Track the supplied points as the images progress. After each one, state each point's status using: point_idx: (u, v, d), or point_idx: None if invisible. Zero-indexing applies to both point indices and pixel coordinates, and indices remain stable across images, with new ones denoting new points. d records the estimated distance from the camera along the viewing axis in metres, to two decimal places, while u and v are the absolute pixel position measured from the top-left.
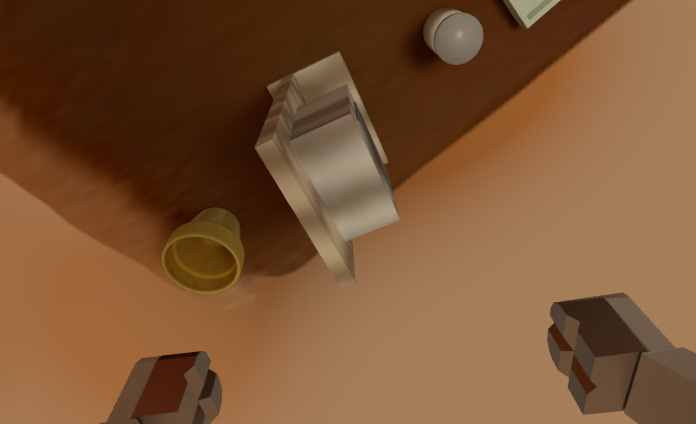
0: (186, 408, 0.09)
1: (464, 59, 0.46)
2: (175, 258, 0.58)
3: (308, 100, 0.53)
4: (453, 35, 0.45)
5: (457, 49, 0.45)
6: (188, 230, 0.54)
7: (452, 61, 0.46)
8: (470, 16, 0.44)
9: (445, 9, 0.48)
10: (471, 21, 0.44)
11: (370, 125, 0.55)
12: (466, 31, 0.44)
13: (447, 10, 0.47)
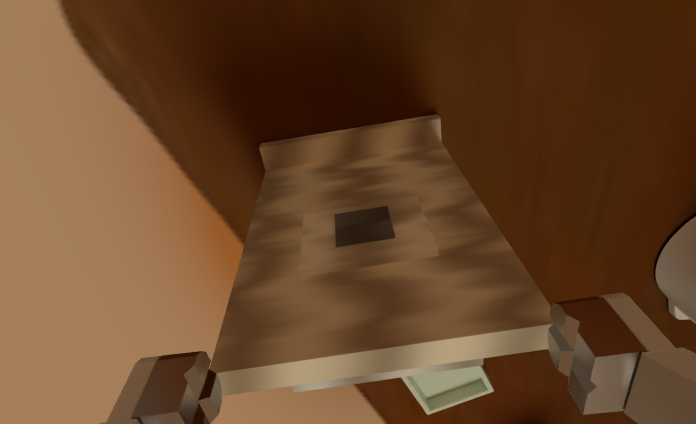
0: (186, 408, 0.09)
1: None
2: None
3: None
4: None
5: None
6: None
7: None
8: None
9: None
10: None
11: None
12: None
13: None
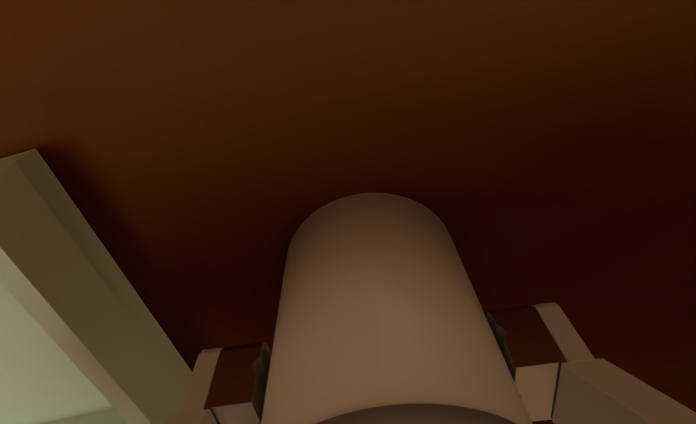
0: (256, 399, 0.08)
1: None
2: None
3: None
4: None
5: None
6: None
7: None
8: None
9: None
10: None
11: None
12: None
13: None
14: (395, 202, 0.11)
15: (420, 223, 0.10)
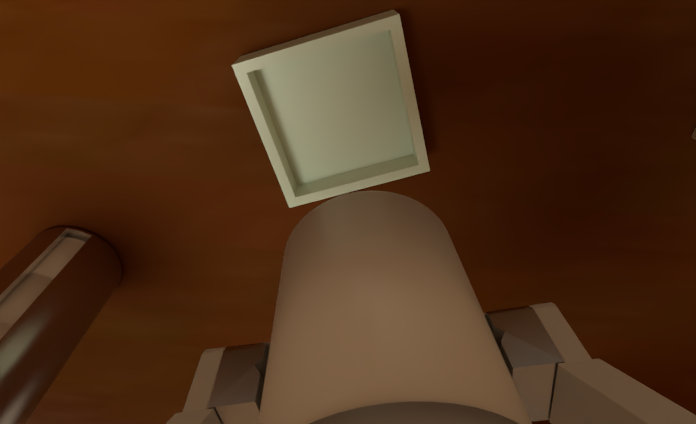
0: (260, 398, 0.08)
1: None
2: None
3: None
4: None
5: None
6: None
7: None
8: None
9: None
10: None
11: None
12: None
13: None
14: (393, 200, 0.11)
15: (418, 221, 0.10)
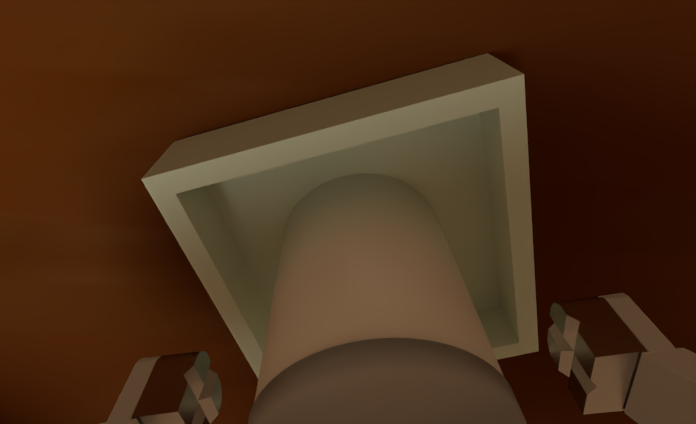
0: (186, 408, 0.09)
1: (408, 396, 0.06)
2: None
3: None
4: None
5: None
6: None
7: (485, 412, 0.07)
8: None
9: None
10: None
11: None
12: None
13: None
14: (384, 182, 0.12)
15: (406, 200, 0.11)
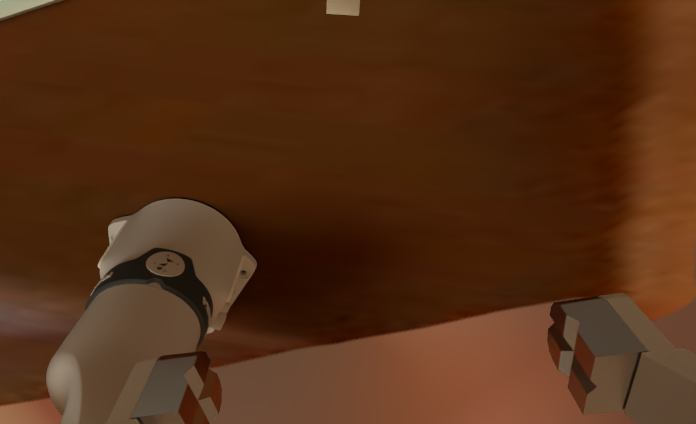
0: (186, 408, 0.09)
1: None
2: None
3: None
4: None
5: None
6: None
7: None
8: None
9: None
10: None
11: None
12: None
13: None
14: None
15: None
